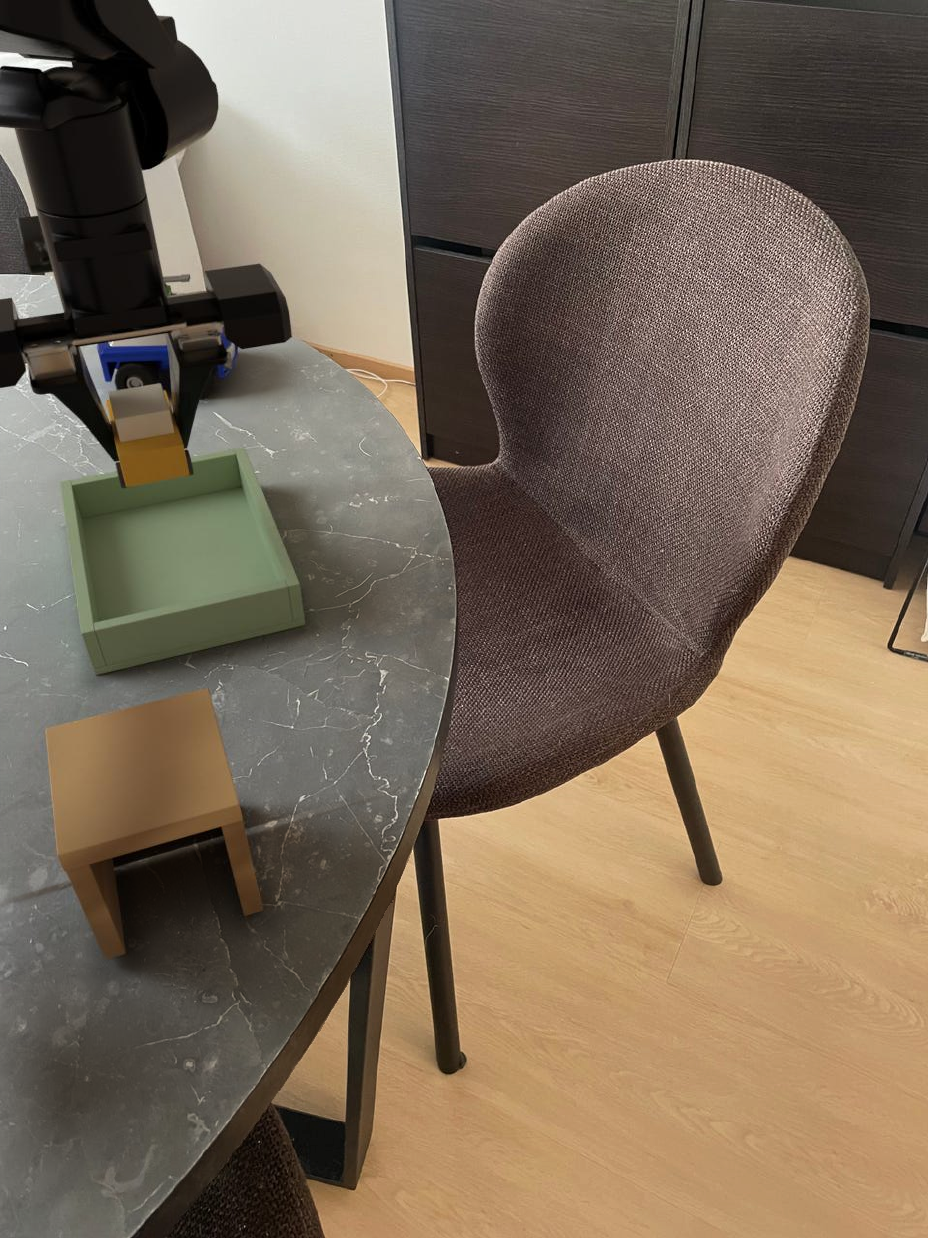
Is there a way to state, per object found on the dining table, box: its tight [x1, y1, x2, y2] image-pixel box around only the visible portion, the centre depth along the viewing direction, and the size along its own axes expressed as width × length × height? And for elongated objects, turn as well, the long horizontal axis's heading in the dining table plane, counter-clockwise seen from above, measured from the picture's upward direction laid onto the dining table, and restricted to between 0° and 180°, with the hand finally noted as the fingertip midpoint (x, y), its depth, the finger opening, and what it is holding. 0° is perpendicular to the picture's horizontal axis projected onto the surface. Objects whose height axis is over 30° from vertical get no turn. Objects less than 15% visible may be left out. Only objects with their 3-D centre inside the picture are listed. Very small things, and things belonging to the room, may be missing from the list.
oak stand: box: [44, 687, 264, 960], centre depth 49 cm, size 8×8×9 cm
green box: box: [59, 446, 306, 676], centre depth 70 cm, size 14×18×4 cm
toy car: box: [96, 273, 239, 399], centre depth 90 cm, size 9×12×10 cm
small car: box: [105, 382, 194, 489], centre depth 63 cm, size 7×4×4 cm, turn 21°
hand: (150, 451), depth 64 cm, fingers closed on small car, 4 cm apart
